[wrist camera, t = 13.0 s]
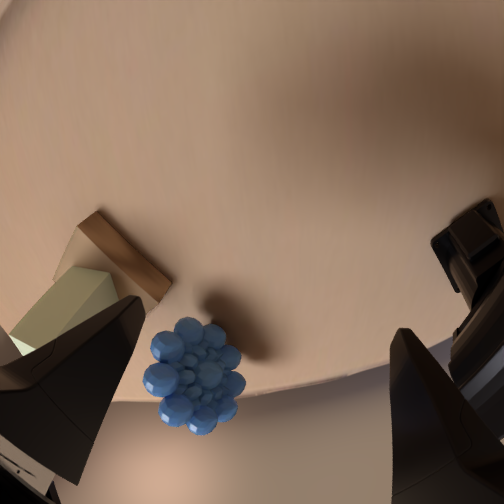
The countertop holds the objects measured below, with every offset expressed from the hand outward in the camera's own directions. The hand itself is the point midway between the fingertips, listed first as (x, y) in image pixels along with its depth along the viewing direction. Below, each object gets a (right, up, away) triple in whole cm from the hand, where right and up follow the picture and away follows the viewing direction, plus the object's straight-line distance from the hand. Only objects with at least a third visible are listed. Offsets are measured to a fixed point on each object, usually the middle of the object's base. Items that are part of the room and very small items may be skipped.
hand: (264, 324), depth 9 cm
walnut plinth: (-15, 0, +19) cm, 24 cm away
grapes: (-5, -6, +21) cm, 22 cm away
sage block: (-15, -1, +16) cm, 23 cm away
